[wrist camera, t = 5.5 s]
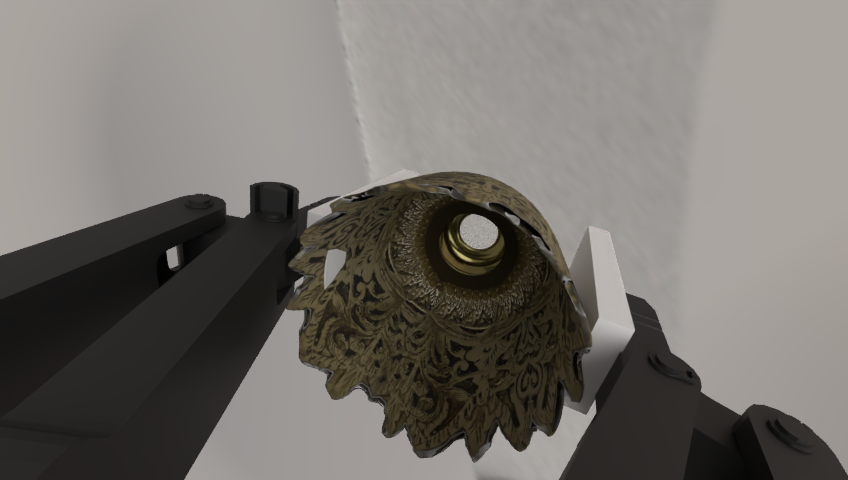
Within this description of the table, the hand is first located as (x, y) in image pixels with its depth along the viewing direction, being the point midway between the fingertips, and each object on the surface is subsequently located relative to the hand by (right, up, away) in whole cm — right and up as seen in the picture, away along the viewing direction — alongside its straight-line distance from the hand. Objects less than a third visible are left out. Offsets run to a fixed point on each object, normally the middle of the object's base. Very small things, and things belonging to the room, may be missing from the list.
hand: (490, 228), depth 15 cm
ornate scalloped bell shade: (0, 0, +1) cm, 1 cm away
